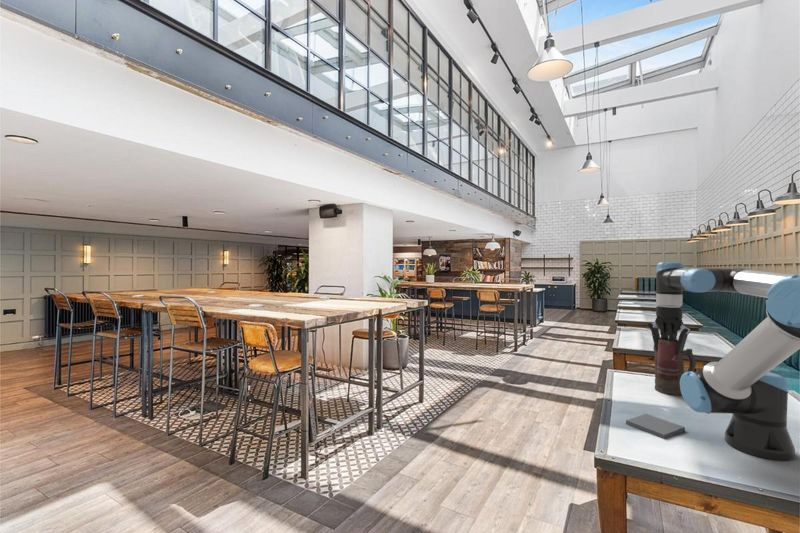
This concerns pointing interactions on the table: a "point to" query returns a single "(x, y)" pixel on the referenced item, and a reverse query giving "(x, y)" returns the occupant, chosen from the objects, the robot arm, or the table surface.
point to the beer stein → (674, 386)
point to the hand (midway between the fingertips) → (668, 372)
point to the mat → (655, 425)
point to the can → (667, 360)
